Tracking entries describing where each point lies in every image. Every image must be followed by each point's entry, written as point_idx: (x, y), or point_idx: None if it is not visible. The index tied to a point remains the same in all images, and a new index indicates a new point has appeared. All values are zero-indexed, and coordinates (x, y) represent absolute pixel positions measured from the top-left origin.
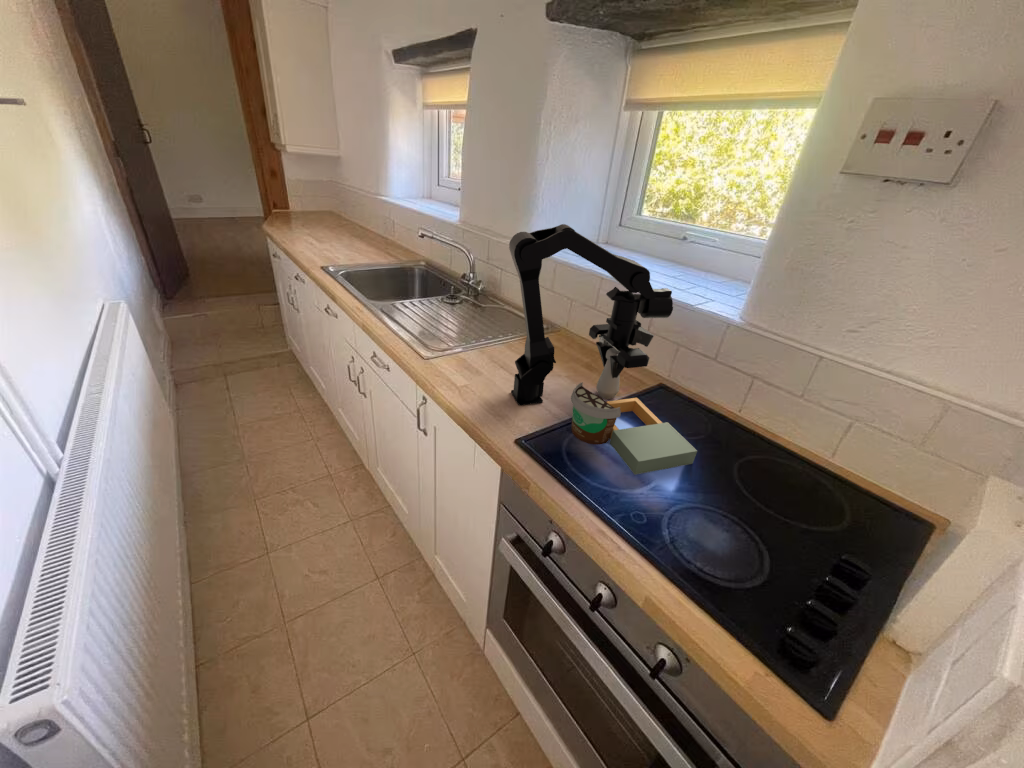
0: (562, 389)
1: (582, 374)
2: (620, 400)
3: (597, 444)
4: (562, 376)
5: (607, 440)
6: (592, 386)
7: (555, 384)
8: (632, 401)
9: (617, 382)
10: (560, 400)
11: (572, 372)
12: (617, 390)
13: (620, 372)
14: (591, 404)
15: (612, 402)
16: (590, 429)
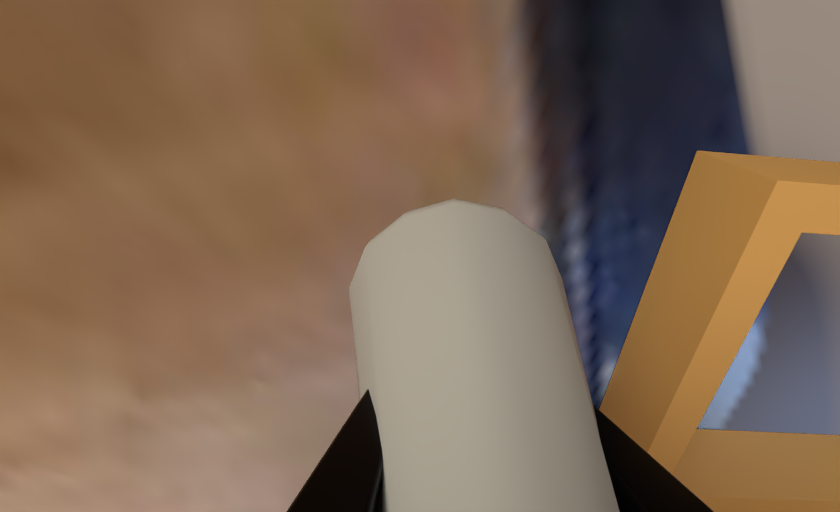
0: (308, 466)
1: (103, 276)
2: (708, 348)
3: None
4: (142, 412)
5: None
6: (305, 293)
7: (245, 476)
8: (782, 257)
9: (575, 338)
10: None
11: (72, 332)
12: (559, 274)
13: (675, 481)
14: None
15: (688, 412)
16: None
